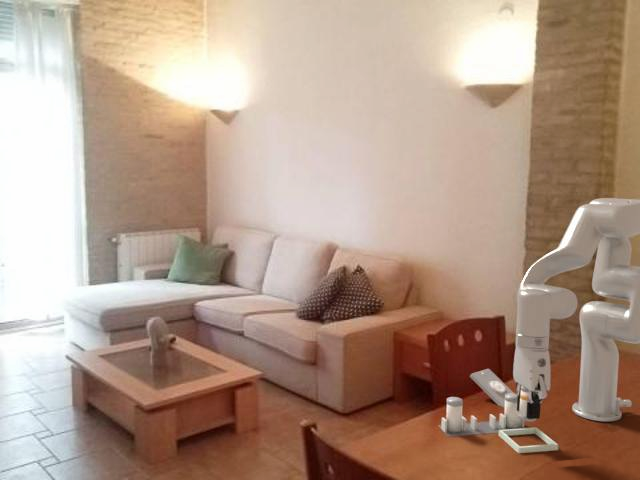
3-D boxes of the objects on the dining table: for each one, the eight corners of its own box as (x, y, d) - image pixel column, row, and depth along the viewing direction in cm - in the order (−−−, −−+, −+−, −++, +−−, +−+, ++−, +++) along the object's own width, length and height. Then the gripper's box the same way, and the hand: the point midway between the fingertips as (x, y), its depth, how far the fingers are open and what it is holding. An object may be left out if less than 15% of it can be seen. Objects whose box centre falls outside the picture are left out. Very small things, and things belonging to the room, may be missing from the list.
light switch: (508, 407, 176) (472, 371, 185) (498, 421, 179) (463, 385, 188) (525, 400, 181) (490, 365, 190) (516, 414, 184) (481, 380, 193)
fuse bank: (515, 423, 169) (517, 390, 168) (528, 434, 162) (530, 400, 161) (437, 429, 165) (438, 395, 163) (447, 440, 158) (448, 405, 157)
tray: (535, 436, 161) (536, 427, 160) (557, 454, 151) (558, 444, 150) (498, 439, 159) (498, 430, 158) (518, 457, 149) (518, 447, 148)
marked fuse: (530, 415, 156) (533, 383, 155) (538, 421, 152) (541, 389, 151) (515, 415, 155) (518, 383, 154) (523, 421, 151) (526, 389, 150)
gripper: (565, 350, 144) (561, 427, 146) (528, 331, 160) (525, 401, 162) (535, 351, 143) (531, 429, 145) (501, 332, 159) (497, 403, 161)
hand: (528, 413), depth 153 cm, fingers closed on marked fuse, 3 cm apart
